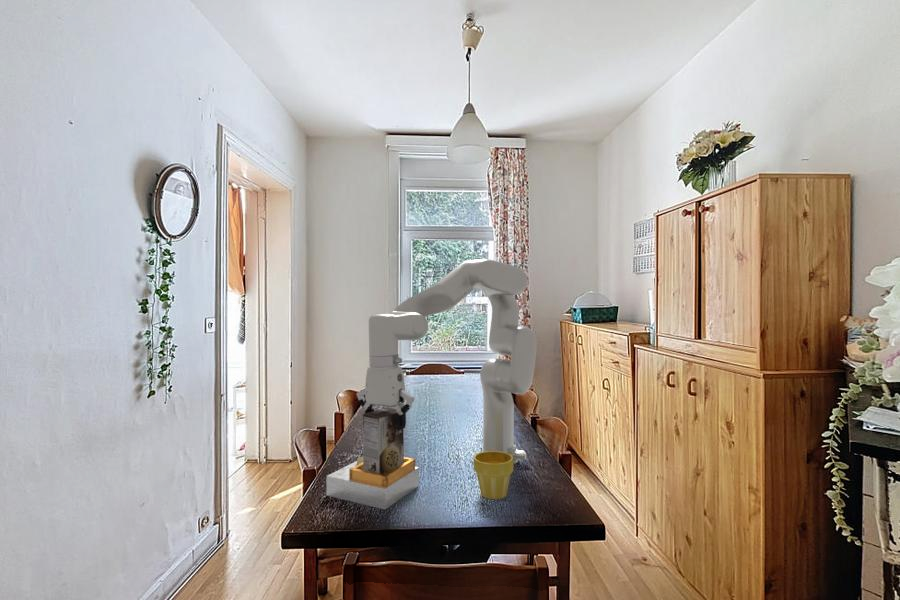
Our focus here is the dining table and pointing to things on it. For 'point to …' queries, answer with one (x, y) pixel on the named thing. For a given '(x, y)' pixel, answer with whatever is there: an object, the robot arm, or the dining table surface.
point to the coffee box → (382, 441)
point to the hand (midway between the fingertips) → (385, 426)
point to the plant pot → (493, 473)
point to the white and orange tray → (373, 484)
